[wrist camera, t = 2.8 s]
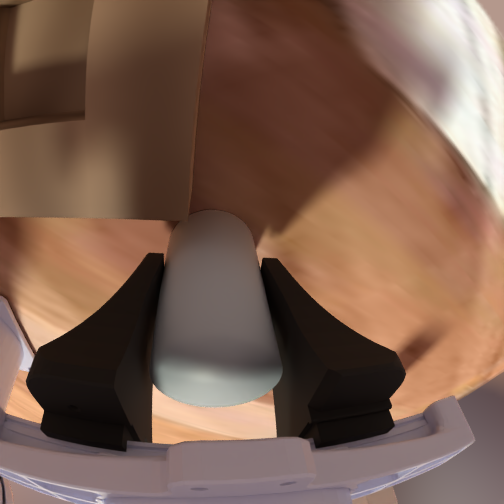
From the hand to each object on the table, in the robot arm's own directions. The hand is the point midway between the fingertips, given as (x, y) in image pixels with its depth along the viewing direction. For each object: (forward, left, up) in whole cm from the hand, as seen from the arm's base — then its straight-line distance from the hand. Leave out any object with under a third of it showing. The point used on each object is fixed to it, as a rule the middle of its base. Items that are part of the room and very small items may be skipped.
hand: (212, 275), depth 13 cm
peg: (0, 0, -2) cm, 2 cm away
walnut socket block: (-7, +9, -2) cm, 12 cm away
